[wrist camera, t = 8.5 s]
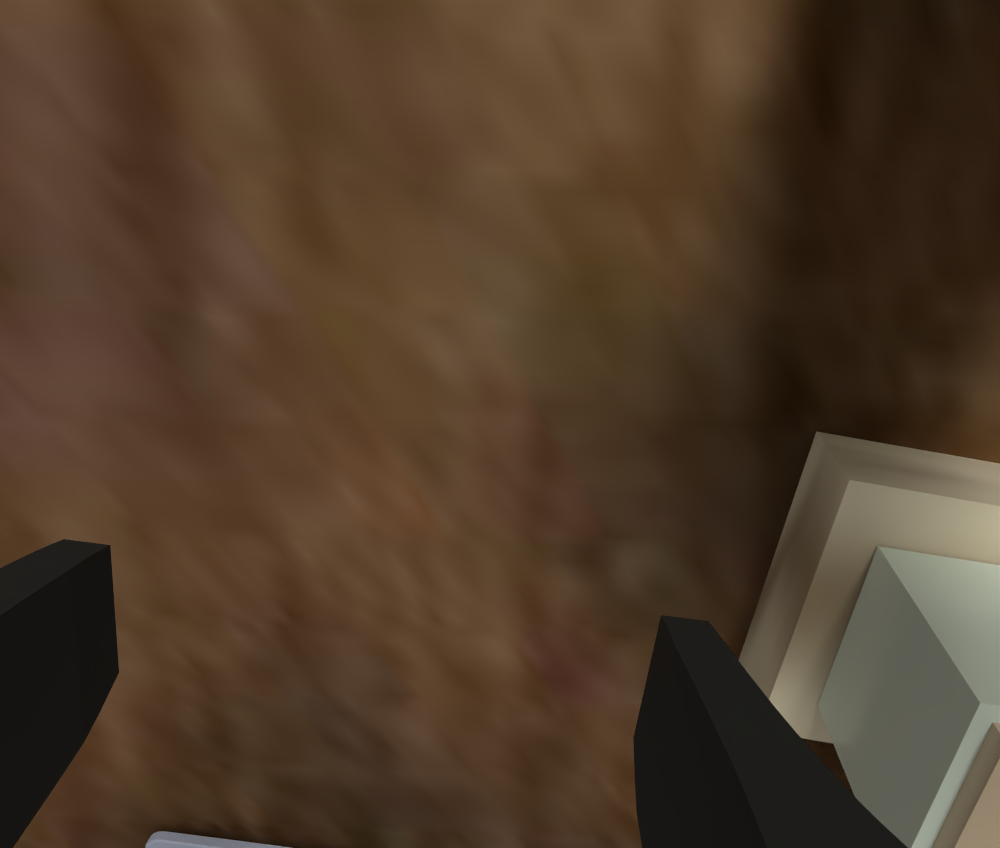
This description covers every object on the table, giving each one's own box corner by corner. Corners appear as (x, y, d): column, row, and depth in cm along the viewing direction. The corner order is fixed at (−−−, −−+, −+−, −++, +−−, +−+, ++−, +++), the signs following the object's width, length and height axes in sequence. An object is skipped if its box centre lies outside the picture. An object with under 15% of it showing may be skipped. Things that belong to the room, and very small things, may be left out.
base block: (981, 695, 25) (1035, 778, 22) (734, 653, 24) (758, 730, 22) (1090, 473, 22) (1168, 535, 19) (811, 424, 22) (849, 480, 19)
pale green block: (1000, 733, 21) (1141, 948, 16) (817, 704, 21) (901, 912, 16) (1077, 577, 20) (1262, 765, 14) (878, 546, 19) (994, 723, 14)
